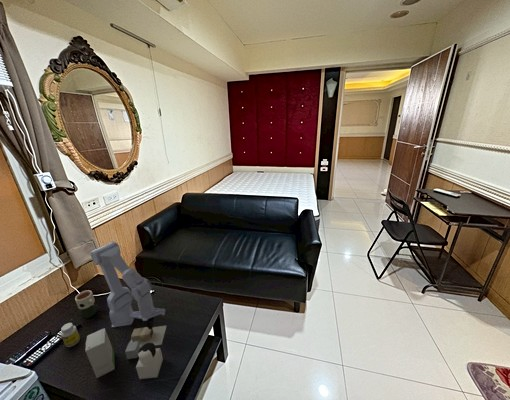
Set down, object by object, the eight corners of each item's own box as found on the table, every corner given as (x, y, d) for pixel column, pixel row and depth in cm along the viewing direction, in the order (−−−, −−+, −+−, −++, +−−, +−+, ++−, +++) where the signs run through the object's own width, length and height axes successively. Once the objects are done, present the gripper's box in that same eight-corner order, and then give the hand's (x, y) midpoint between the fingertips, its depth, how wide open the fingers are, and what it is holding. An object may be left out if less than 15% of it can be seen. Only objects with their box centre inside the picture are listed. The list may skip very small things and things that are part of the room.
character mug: (76, 316, 113) (69, 297, 108) (90, 306, 119) (83, 287, 115) (90, 322, 109) (83, 302, 105) (103, 311, 116) (97, 292, 111)
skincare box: (114, 369, 88) (105, 342, 82) (95, 379, 84) (84, 352, 79) (114, 352, 94) (105, 326, 89) (96, 361, 91) (86, 335, 86)
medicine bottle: (146, 360, 91) (140, 340, 87) (163, 359, 91) (158, 339, 87) (139, 379, 84) (132, 358, 80) (157, 377, 85) (152, 356, 81)
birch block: (151, 340, 99) (132, 342, 98) (153, 332, 103) (136, 334, 102) (149, 333, 98) (131, 336, 97) (152, 326, 102) (134, 328, 101)
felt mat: (126, 350, 95) (126, 349, 95) (135, 330, 105) (135, 329, 104) (161, 344, 97) (161, 344, 97) (166, 325, 107) (166, 325, 106)
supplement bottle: (64, 349, 96) (57, 333, 93) (67, 339, 101) (60, 324, 97) (78, 344, 98) (72, 328, 95) (81, 334, 103) (75, 319, 100)
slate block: (127, 359, 91) (125, 351, 90) (131, 350, 95) (128, 342, 93) (137, 358, 92) (135, 350, 90) (140, 349, 96) (138, 341, 94)
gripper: (124, 314, 90) (131, 337, 95) (160, 309, 92) (165, 332, 97) (131, 301, 97) (137, 324, 101) (164, 297, 99) (168, 319, 103)
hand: (151, 327), depth 99 cm, fingers closed
